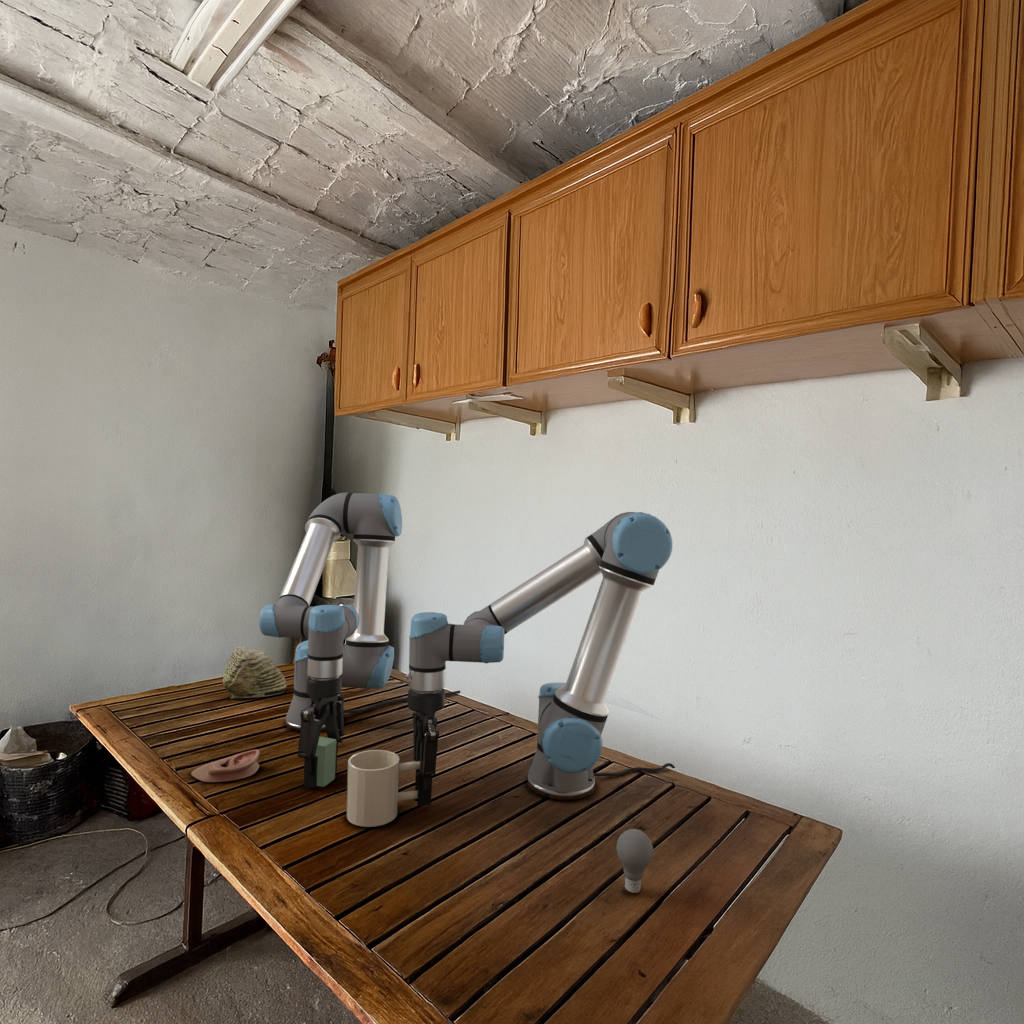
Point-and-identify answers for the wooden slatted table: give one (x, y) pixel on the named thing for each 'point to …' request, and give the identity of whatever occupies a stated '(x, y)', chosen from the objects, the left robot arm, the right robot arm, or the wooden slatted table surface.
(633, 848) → the light bulb
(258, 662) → the fossil
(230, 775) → the anatomical model
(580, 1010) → the wooden slatted table surface
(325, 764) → the block
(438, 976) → the wooden slatted table surface
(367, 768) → the mug
